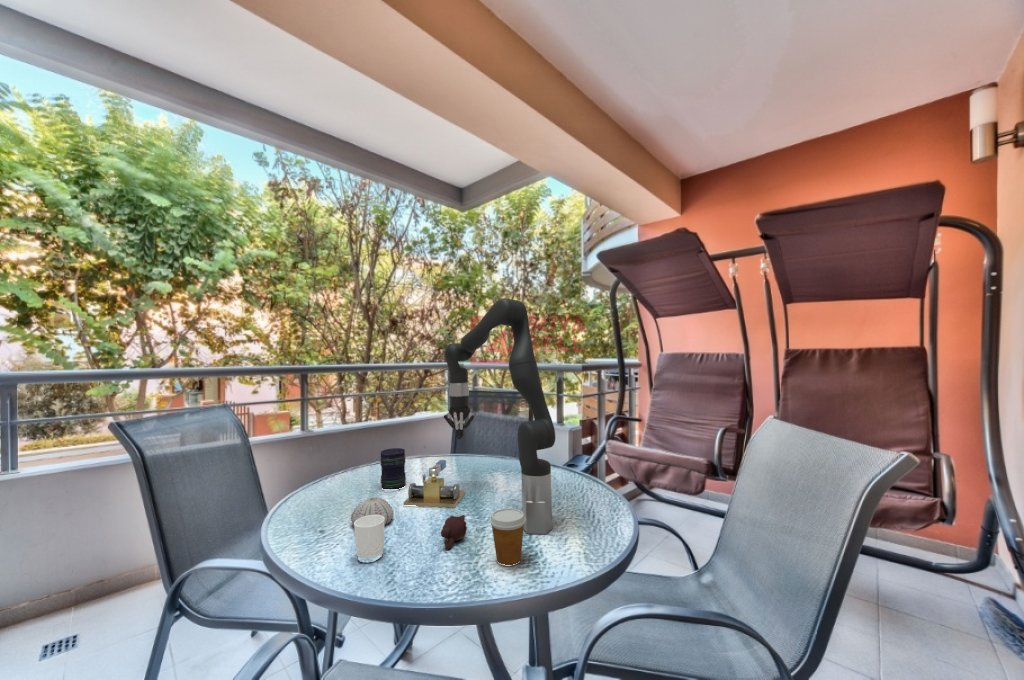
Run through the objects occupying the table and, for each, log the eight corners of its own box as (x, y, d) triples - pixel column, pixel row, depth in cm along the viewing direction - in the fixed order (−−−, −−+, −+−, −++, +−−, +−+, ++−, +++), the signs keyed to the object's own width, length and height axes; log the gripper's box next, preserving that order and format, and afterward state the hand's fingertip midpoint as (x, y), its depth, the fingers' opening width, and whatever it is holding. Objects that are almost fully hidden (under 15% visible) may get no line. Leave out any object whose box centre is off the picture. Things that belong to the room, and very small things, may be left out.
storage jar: (375, 490, 164) (375, 453, 164) (390, 482, 173) (389, 447, 173) (397, 492, 161) (396, 454, 161) (410, 484, 170) (409, 448, 170)
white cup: (375, 547, 116) (374, 512, 117) (391, 555, 111) (390, 519, 112) (349, 559, 110) (348, 522, 111) (364, 568, 105) (364, 529, 106)
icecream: (450, 506, 129) (429, 531, 114) (471, 502, 127) (452, 527, 112) (457, 527, 129) (436, 555, 114) (477, 524, 127) (459, 551, 112)
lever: (436, 477, 149) (436, 469, 149) (427, 477, 150) (427, 469, 150) (447, 467, 162) (447, 460, 162) (438, 466, 162) (438, 459, 162)
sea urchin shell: (368, 513, 142) (368, 490, 142) (402, 517, 137) (401, 493, 138) (341, 529, 129) (341, 504, 129) (378, 534, 125) (377, 508, 125)
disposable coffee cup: (483, 561, 107) (482, 515, 108) (509, 547, 114) (508, 504, 114) (508, 574, 101) (507, 525, 101) (534, 559, 107) (532, 514, 108)
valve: (454, 508, 144) (453, 478, 144) (403, 506, 146) (402, 477, 147) (464, 493, 157) (464, 466, 158) (418, 492, 160) (417, 465, 160)
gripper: (439, 395, 156) (440, 440, 156) (473, 395, 154) (474, 441, 154) (445, 393, 164) (446, 436, 163) (477, 393, 162) (478, 436, 161)
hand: (460, 438), depth 159 cm, fingers closed
